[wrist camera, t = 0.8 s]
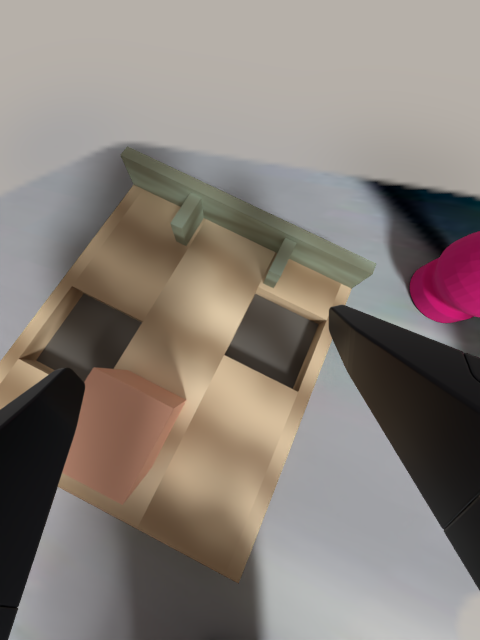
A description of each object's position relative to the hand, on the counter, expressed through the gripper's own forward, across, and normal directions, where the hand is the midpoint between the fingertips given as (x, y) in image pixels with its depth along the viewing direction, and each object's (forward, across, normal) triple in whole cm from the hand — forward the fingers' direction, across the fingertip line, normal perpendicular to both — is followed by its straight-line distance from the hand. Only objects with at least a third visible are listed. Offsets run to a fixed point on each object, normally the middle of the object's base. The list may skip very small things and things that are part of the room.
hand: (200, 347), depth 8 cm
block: (+5, +8, +9) cm, 13 cm away
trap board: (+10, +4, +8) cm, 13 cm away
